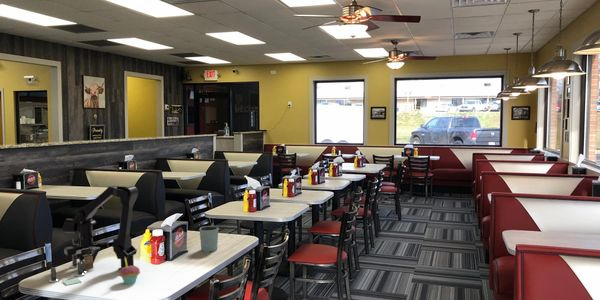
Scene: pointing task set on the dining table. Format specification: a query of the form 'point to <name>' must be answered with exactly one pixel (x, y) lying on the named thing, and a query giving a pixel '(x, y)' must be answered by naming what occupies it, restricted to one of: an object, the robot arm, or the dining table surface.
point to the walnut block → (88, 261)
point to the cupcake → (129, 273)
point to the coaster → (71, 281)
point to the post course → (78, 265)
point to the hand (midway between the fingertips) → (87, 265)
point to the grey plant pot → (209, 238)
